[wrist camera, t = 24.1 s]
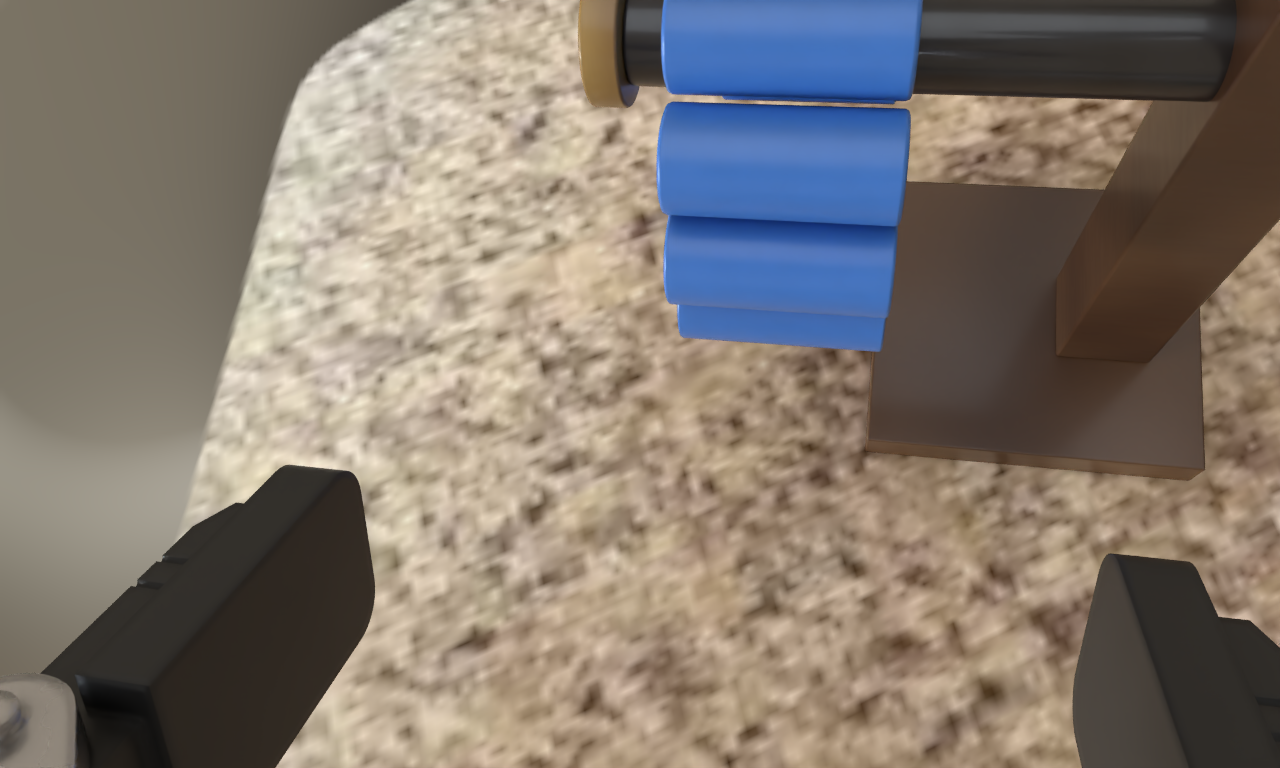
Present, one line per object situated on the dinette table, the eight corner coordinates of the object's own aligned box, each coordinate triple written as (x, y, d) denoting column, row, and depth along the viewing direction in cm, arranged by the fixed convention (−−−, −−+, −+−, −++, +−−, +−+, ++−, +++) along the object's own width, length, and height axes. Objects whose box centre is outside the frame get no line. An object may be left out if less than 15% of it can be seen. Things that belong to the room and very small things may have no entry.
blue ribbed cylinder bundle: (897, 36, 26) (943, -300, 17) (871, 397, 24) (908, 229, 15) (738, 33, 27) (702, -290, 18) (698, 384, 24) (633, 215, 15)
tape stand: (1181, 213, 30) (1534, -279, 15) (1189, 481, 28) (1616, 195, 13) (691, 190, 33) (601, -248, 18) (659, 433, 30) (525, 150, 16)
